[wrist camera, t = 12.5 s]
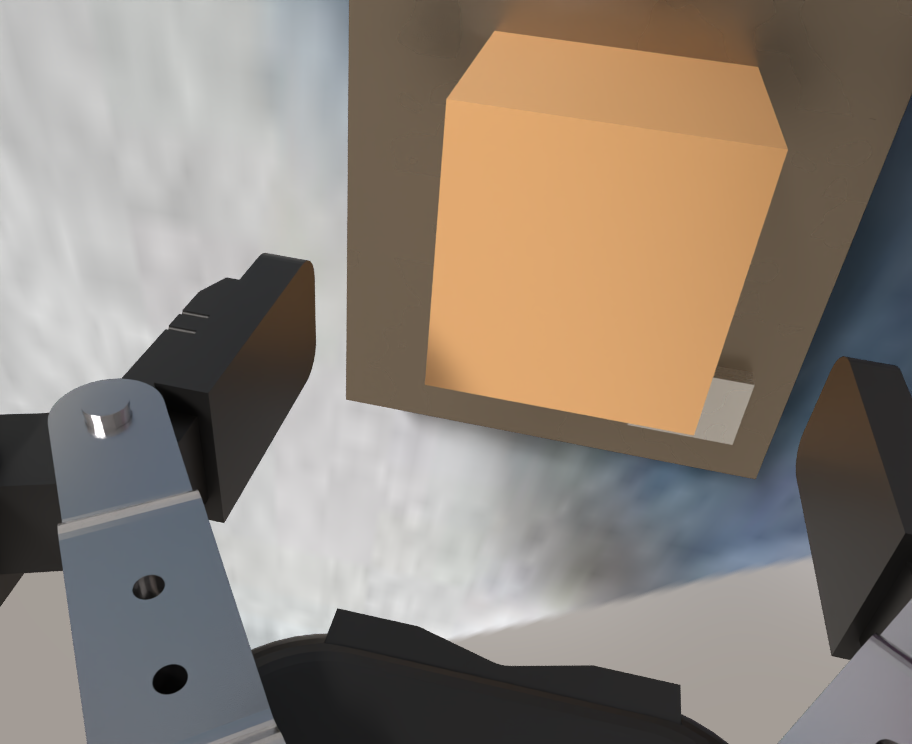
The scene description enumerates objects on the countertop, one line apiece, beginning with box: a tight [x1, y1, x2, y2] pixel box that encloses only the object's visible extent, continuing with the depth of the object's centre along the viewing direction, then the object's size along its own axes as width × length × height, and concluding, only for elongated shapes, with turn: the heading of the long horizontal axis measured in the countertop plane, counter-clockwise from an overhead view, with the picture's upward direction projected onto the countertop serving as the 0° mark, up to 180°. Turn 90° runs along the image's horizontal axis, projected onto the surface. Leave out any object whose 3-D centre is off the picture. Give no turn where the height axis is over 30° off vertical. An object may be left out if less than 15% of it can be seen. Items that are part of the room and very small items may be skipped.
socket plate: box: [346, 0, 912, 479], centre depth 20 cm, size 16×12×4 cm
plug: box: [425, 31, 788, 436], centre depth 18 cm, size 6×6×8 cm
